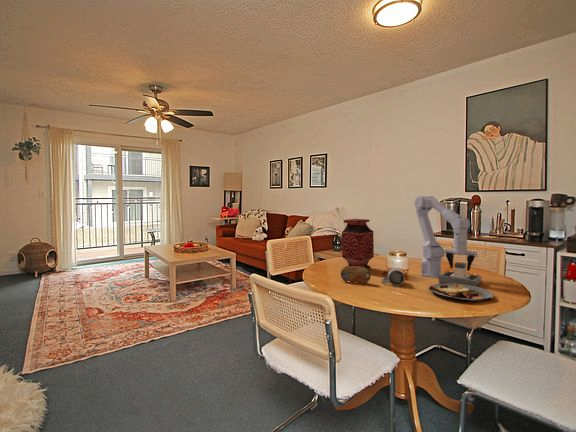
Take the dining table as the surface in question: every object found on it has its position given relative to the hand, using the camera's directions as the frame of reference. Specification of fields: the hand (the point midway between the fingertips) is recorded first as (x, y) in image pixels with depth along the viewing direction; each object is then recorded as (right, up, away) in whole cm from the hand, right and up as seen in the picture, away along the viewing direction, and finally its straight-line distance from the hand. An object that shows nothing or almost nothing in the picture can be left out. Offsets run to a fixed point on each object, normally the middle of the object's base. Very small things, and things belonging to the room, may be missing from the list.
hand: (459, 269), depth 158 cm
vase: (-43, -6, +34) cm, 56 cm away
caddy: (0, -7, 0) cm, 7 cm away
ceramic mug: (-33, -8, +1) cm, 34 cm away
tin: (-51, -8, +5) cm, 52 cm away
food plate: (-10, -9, -18) cm, 22 cm away
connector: (0, -6, 0) cm, 6 cm away
